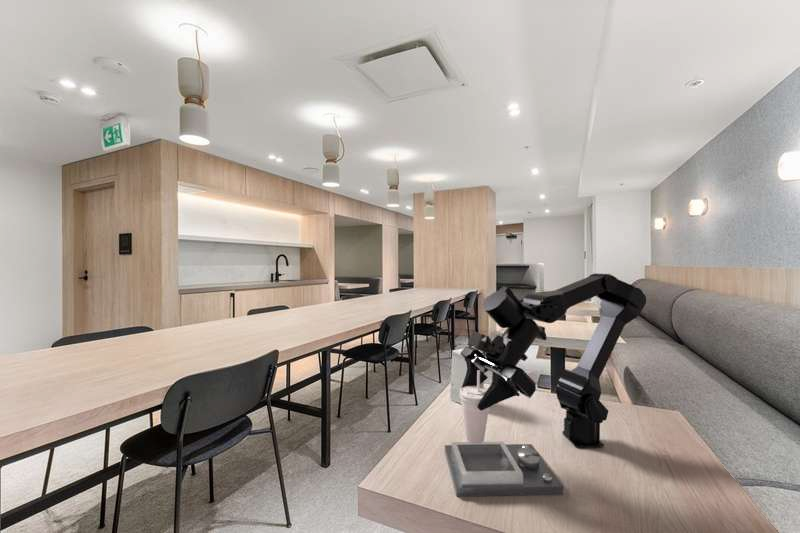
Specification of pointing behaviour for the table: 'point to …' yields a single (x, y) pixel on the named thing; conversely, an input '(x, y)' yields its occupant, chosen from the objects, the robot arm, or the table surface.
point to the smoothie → (474, 412)
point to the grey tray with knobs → (499, 470)
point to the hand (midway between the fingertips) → (469, 402)
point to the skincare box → (458, 375)
